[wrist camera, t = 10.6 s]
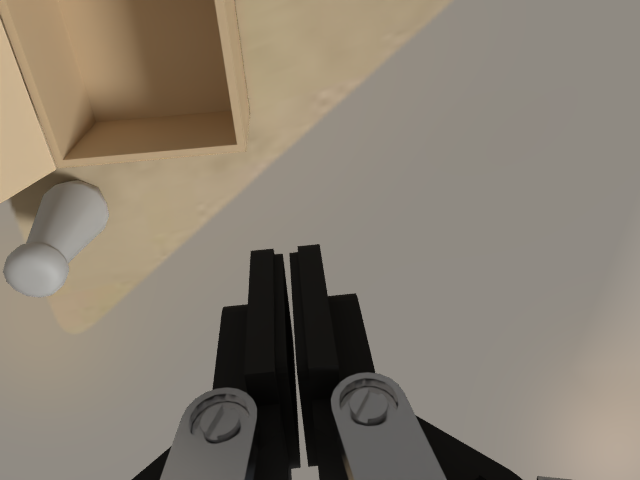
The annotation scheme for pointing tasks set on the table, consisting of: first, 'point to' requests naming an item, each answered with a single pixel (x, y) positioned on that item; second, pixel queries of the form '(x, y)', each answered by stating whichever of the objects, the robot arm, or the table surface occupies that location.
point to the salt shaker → (56, 238)
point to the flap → (18, 130)
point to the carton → (132, 77)
